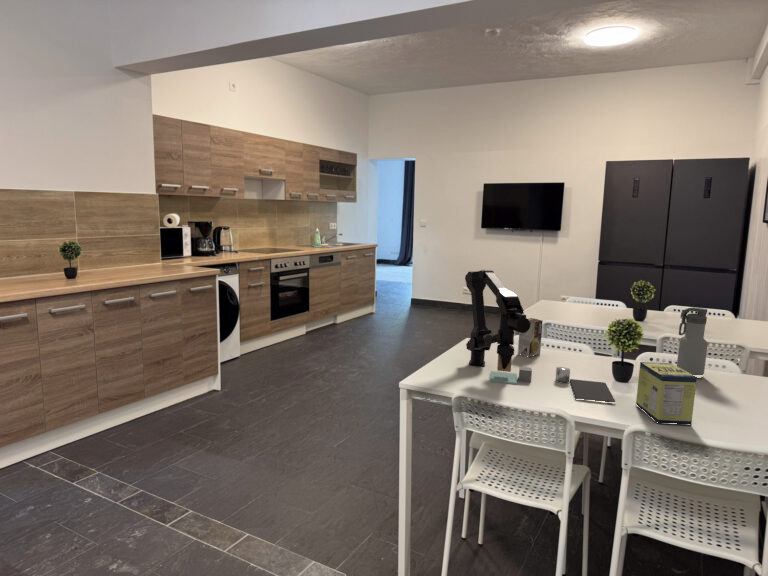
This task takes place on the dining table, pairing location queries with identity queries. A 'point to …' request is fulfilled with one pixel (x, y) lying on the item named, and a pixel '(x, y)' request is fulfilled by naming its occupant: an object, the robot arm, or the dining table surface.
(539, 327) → the coffee box
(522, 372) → the dark grey plastic block
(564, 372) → the grey metal cylinder
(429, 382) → the dining table surface
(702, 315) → the water bottle
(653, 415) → the protein box
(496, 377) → the teal mat
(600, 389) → the notebook
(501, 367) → the walnut block
